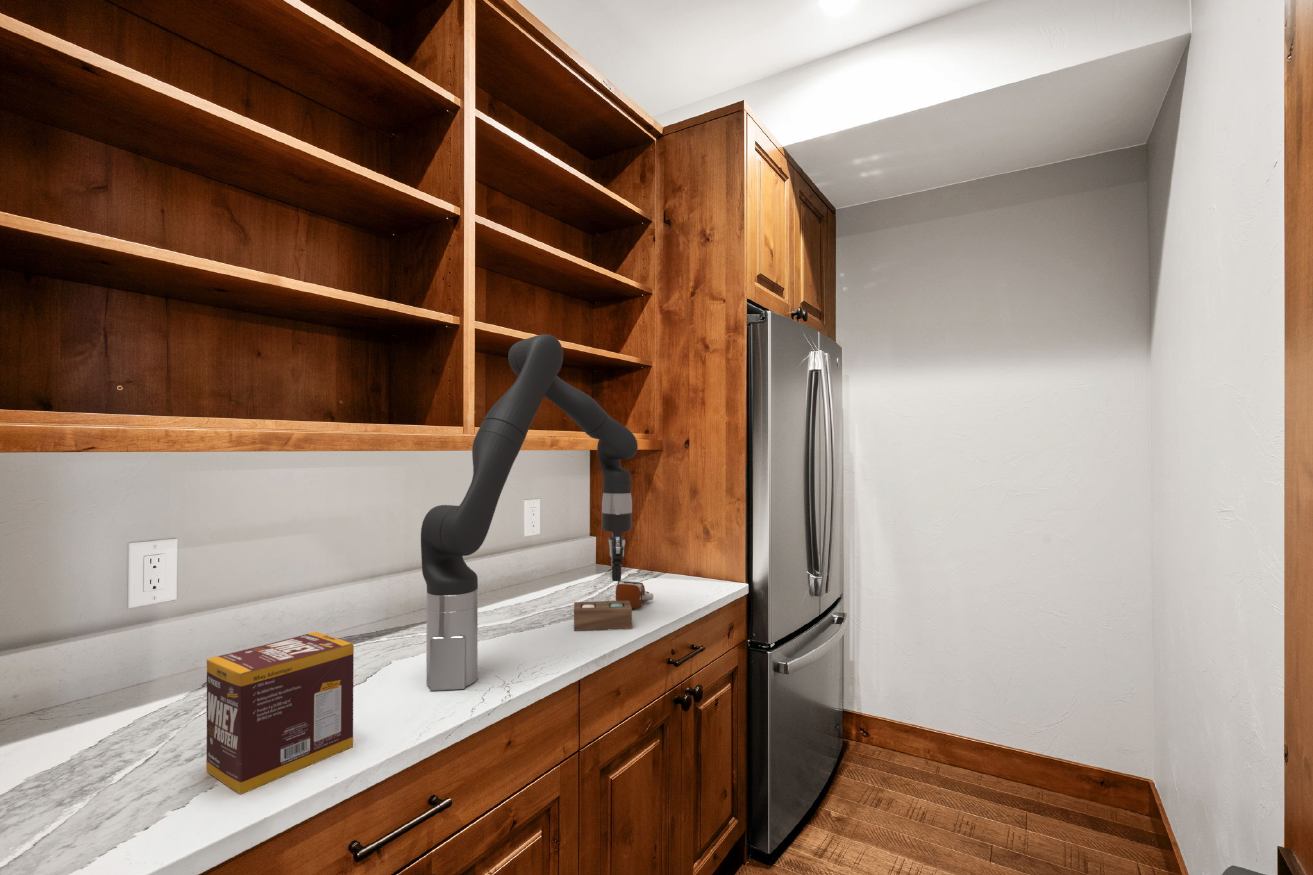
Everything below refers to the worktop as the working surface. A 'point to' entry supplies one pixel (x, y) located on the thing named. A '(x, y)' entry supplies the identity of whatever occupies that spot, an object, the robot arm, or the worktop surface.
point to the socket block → (602, 616)
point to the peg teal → (616, 605)
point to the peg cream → (588, 606)
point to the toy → (632, 593)
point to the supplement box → (278, 709)
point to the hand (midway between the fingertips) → (616, 580)
